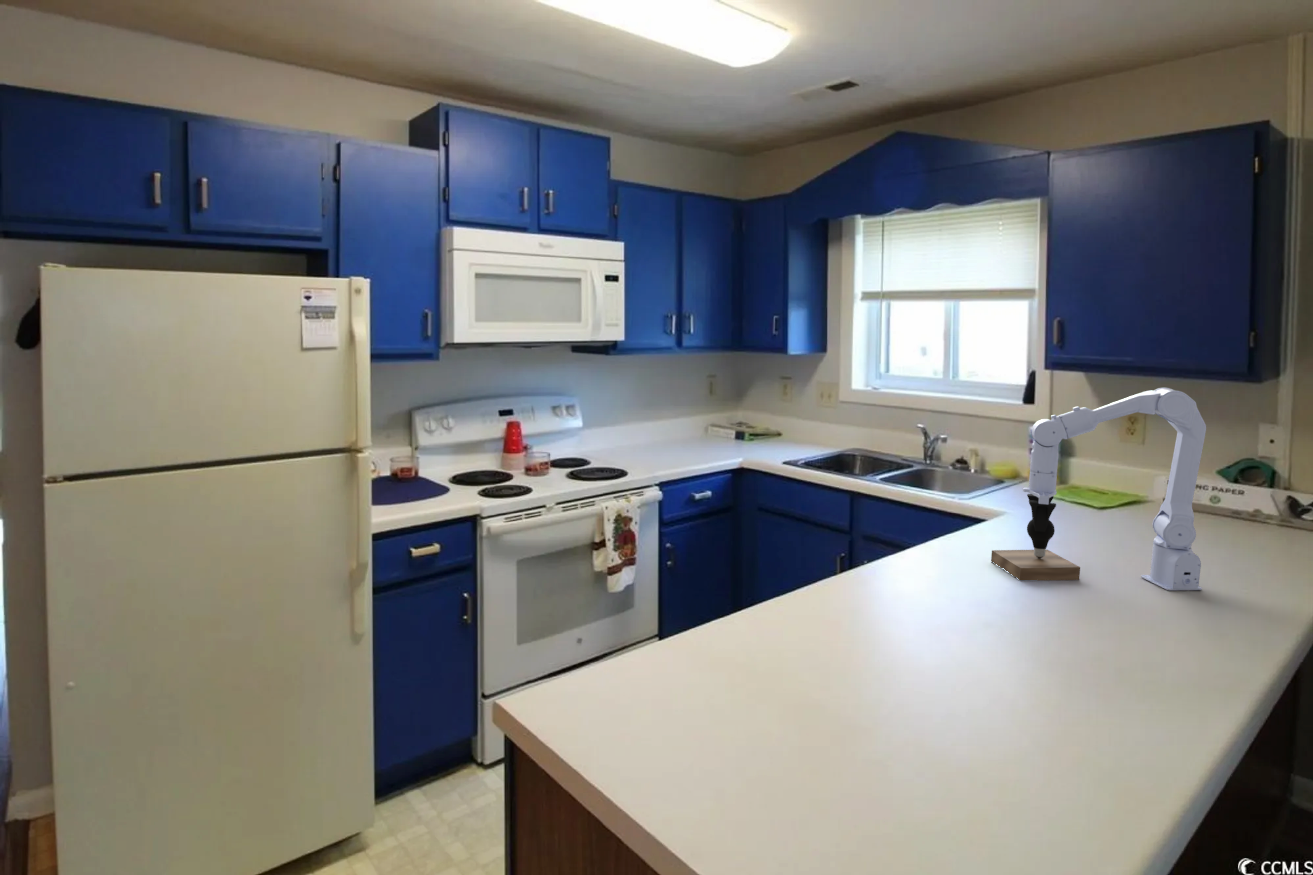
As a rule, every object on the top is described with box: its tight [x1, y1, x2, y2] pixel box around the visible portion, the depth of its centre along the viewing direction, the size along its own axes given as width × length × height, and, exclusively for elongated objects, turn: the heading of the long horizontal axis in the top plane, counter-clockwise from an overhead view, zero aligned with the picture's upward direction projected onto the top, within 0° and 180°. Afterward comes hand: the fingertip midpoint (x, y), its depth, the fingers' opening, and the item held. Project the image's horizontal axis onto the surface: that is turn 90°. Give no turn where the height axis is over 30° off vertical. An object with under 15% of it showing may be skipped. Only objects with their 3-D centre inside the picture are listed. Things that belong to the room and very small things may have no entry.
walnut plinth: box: [990, 549, 1081, 581], centre depth 189 cm, size 14×14×3 cm
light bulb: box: [1026, 518, 1055, 559], centre depth 187 cm, size 6×6×10 cm
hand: (1039, 527), depth 187 cm, fingers closed on light bulb, 6 cm apart
